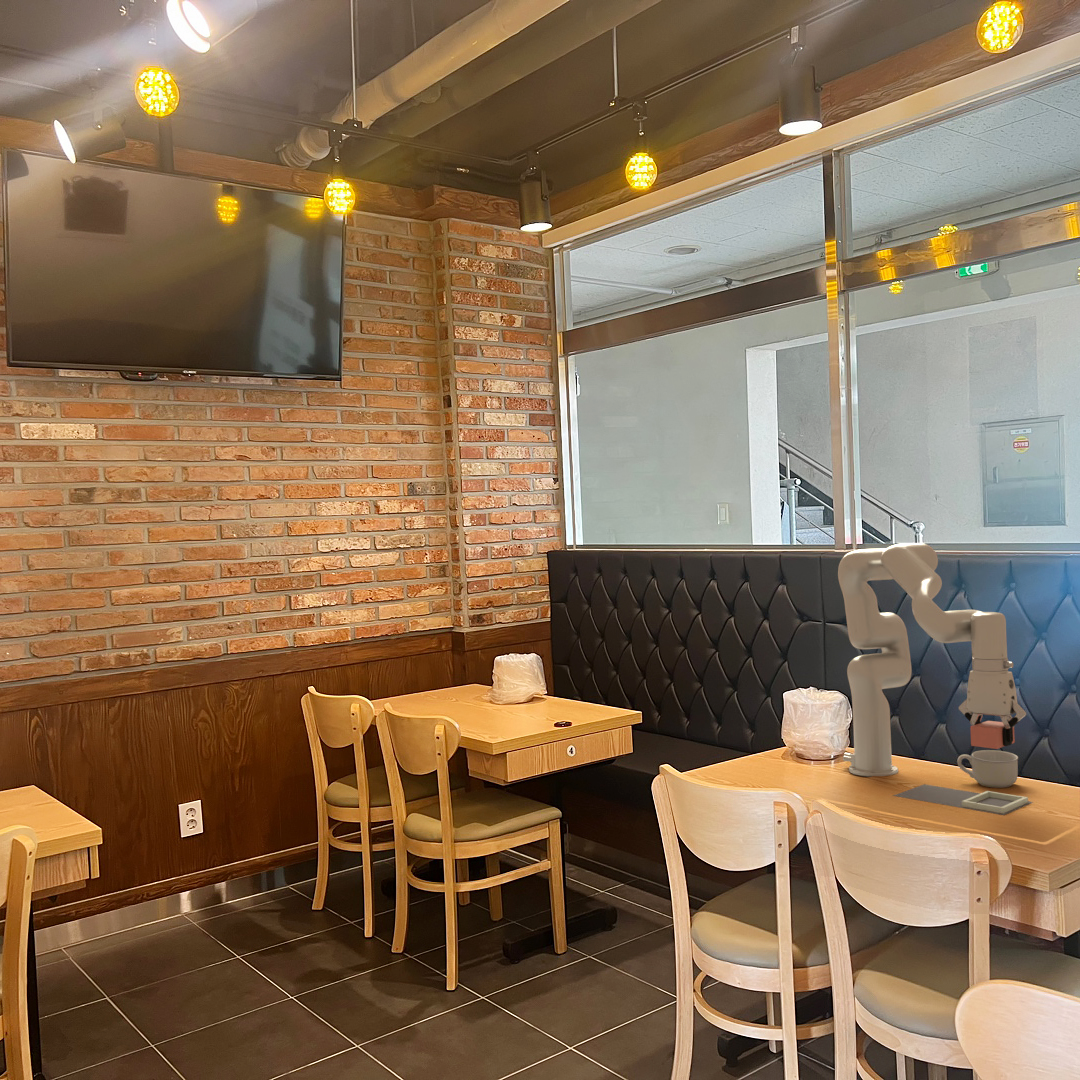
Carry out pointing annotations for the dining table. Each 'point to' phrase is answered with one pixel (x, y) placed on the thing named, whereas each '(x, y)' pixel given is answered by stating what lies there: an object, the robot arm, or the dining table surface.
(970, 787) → the dining table surface
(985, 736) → the card deck
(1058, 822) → the dining table surface
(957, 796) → the play mat
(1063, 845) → the dining table surface
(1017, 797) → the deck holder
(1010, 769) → the teacup
